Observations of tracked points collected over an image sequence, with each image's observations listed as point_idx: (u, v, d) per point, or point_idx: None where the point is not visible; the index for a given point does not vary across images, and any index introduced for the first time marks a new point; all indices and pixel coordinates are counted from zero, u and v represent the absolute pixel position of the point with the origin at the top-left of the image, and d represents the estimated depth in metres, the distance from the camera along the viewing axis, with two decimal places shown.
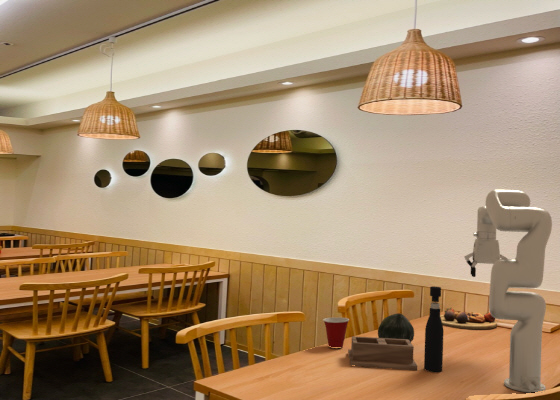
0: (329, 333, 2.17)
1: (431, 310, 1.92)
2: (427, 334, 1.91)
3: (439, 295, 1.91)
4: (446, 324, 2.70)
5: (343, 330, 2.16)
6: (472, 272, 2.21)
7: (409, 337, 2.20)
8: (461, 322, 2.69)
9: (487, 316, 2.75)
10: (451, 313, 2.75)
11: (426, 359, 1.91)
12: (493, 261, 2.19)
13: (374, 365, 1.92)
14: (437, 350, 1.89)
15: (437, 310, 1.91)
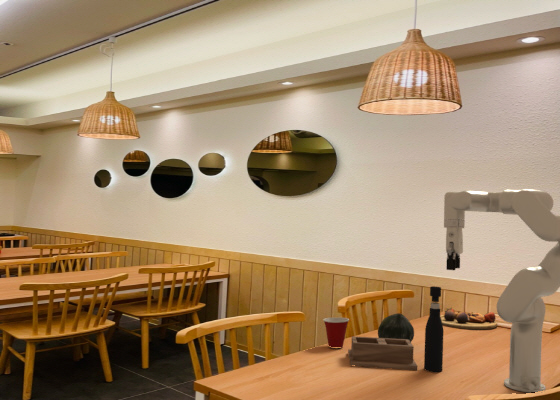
0: (329, 333, 2.17)
1: (431, 310, 1.92)
2: (427, 334, 1.91)
3: (439, 295, 1.92)
4: (446, 324, 2.70)
5: (343, 330, 2.16)
6: (452, 265, 1.97)
7: (409, 337, 2.20)
8: (461, 322, 2.69)
9: (487, 316, 2.74)
10: (451, 313, 2.75)
11: (426, 359, 1.91)
12: (462, 251, 2.03)
13: (374, 365, 1.92)
14: (437, 350, 1.89)
15: (437, 310, 1.91)
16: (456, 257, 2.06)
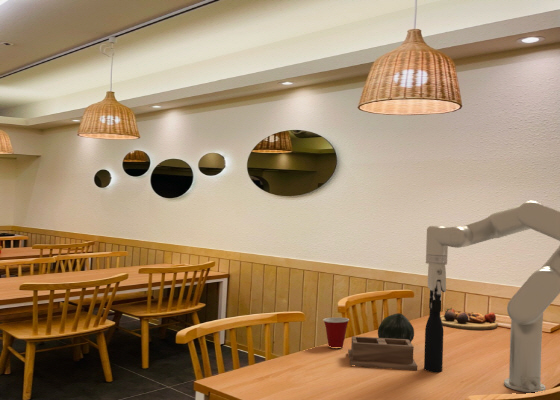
0: (329, 333, 2.17)
1: (431, 310, 1.92)
2: (427, 334, 1.91)
3: None
4: (446, 324, 2.69)
5: (343, 330, 2.16)
6: (438, 306, 1.90)
7: (409, 337, 2.20)
8: (461, 322, 2.68)
9: (487, 316, 2.74)
10: (451, 313, 2.75)
11: (426, 359, 1.91)
12: None
13: (374, 365, 1.92)
14: (437, 350, 1.89)
15: None
16: None
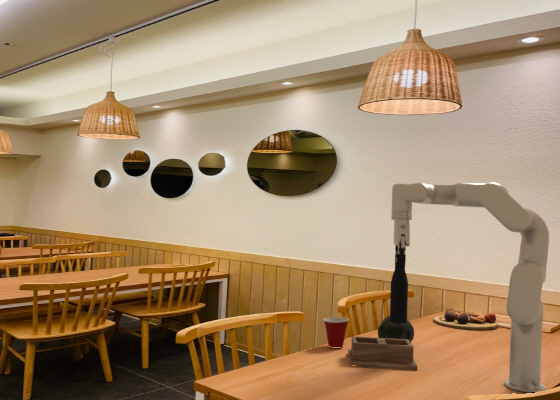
0: (329, 333, 2.17)
1: (396, 264, 2.00)
2: (392, 287, 1.99)
3: None
4: (446, 325, 2.69)
5: (343, 330, 2.16)
6: (403, 260, 1.98)
7: (409, 337, 2.20)
8: (461, 323, 2.68)
9: (488, 317, 2.73)
10: (451, 313, 2.74)
11: (391, 311, 1.99)
12: None
13: (374, 365, 1.92)
14: (401, 302, 1.97)
15: None
16: None
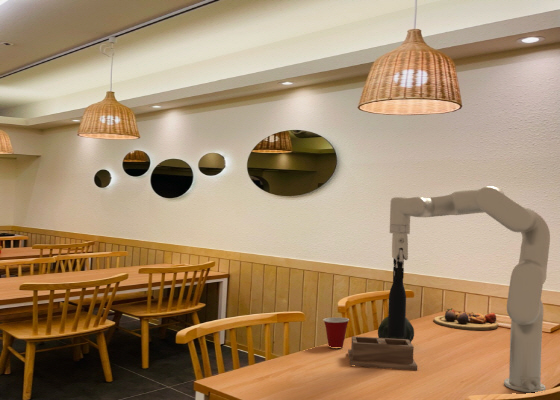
0: (329, 333, 2.17)
1: (394, 277, 2.00)
2: (390, 300, 2.00)
3: None
4: (447, 325, 2.68)
5: (343, 330, 2.16)
6: (401, 274, 1.98)
7: (409, 337, 2.20)
8: (462, 323, 2.68)
9: (488, 317, 2.73)
10: (452, 314, 2.74)
11: (389, 324, 2.00)
12: None
13: (374, 365, 1.92)
14: (399, 316, 1.98)
15: None
16: None
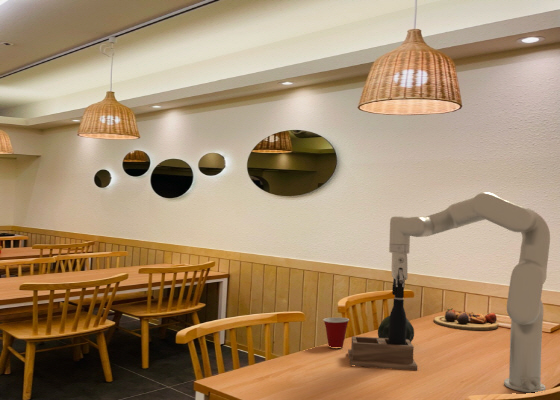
0: (329, 333, 2.17)
1: (395, 301, 2.00)
2: (391, 324, 1.99)
3: None
4: (447, 325, 2.68)
5: (343, 330, 2.16)
6: (401, 293, 1.97)
7: (409, 337, 2.20)
8: (462, 323, 2.67)
9: (488, 317, 2.73)
10: (452, 314, 2.73)
11: None
12: None
13: (374, 365, 1.92)
14: (399, 339, 1.97)
15: (400, 301, 1.99)
16: None
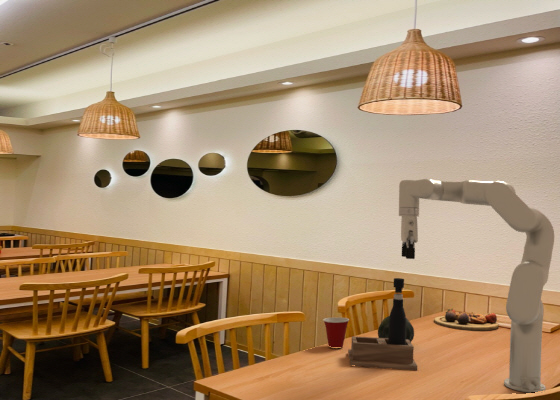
0: (329, 333, 2.17)
1: (394, 301, 2.00)
2: (390, 324, 1.99)
3: (402, 286, 1.99)
4: (447, 325, 2.68)
5: (343, 330, 2.16)
6: (412, 254, 1.95)
7: (409, 337, 2.20)
8: (462, 323, 2.67)
9: (488, 317, 2.72)
10: (452, 314, 2.73)
11: None
12: None
13: (374, 365, 1.92)
14: (399, 339, 1.97)
15: (400, 301, 1.99)
16: (407, 246, 2.05)
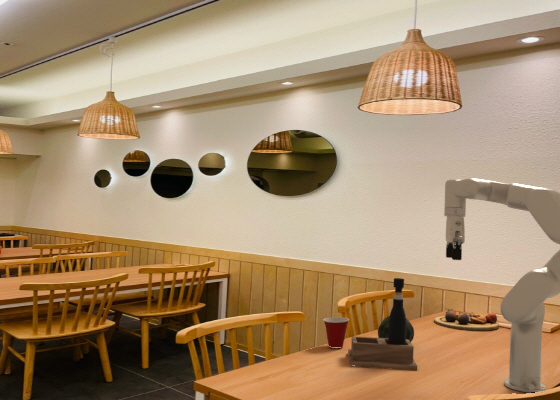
0: (329, 333, 2.17)
1: (394, 301, 2.00)
2: (390, 324, 1.99)
3: (402, 286, 1.99)
4: (447, 325, 2.67)
5: (343, 330, 2.16)
6: (459, 255, 1.91)
7: (409, 337, 2.20)
8: (462, 323, 2.67)
9: (489, 317, 2.72)
10: (452, 314, 2.73)
11: None
12: None
13: (374, 365, 1.92)
14: (399, 339, 1.97)
15: (400, 301, 1.99)
16: (451, 246, 2.01)
